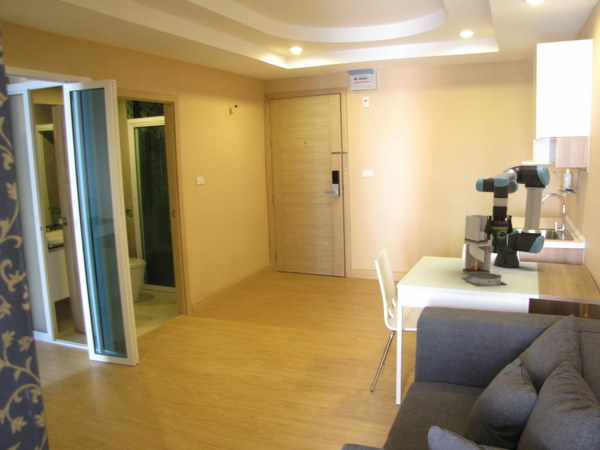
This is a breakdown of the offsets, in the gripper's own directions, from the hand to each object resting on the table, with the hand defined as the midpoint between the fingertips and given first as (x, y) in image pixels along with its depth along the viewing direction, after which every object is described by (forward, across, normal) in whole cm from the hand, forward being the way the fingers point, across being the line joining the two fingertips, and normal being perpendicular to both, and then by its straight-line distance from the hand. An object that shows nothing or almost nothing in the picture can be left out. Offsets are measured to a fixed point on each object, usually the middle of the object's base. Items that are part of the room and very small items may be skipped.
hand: (497, 245), depth 280 cm
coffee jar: (+4, 0, 0) cm, 4 cm away
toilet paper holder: (+22, -2, -22) cm, 31 cm away
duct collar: (+22, +5, -4) cm, 22 cm away
